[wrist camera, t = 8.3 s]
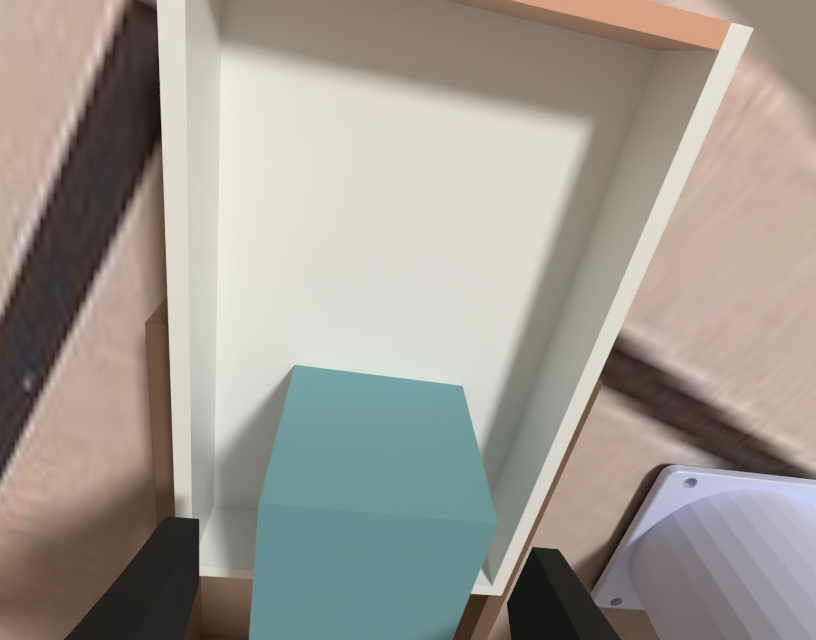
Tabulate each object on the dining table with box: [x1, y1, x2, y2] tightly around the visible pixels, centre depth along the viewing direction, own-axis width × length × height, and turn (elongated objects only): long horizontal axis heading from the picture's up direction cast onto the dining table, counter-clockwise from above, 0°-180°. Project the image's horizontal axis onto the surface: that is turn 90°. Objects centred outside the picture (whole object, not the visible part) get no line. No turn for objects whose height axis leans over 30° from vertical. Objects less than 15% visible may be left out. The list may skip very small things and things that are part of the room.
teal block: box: [249, 365, 498, 640], centre depth 12 cm, size 4×4×4 cm
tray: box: [157, 0, 754, 596], centre depth 12 cm, size 9×15×3 cm, turn 169°
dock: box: [145, 297, 603, 640], centre depth 17 cm, size 11×16×3 cm
